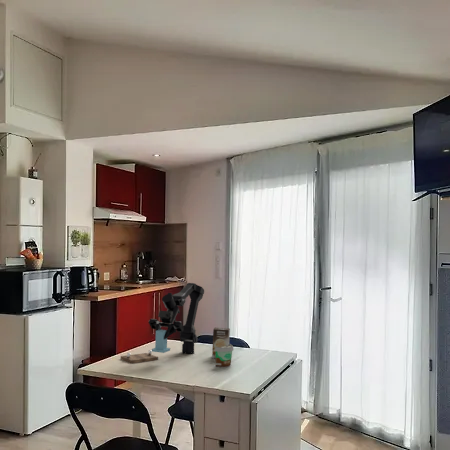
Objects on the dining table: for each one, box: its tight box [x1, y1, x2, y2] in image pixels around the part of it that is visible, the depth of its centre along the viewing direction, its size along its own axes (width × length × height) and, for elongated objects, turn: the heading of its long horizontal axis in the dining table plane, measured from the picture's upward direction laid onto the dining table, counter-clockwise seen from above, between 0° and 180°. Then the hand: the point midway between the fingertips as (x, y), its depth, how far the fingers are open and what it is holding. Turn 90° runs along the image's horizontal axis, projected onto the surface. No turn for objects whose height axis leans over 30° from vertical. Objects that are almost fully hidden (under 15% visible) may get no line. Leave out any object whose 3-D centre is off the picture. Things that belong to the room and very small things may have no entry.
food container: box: [215, 343, 235, 368], centre depth 255 cm, size 12×6×10 cm, turn 143°
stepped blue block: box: [151, 329, 171, 354], centre depth 253 cm, size 7×7×10 cm
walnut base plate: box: [120, 352, 159, 364], centre depth 262 cm, size 16×12×2 cm
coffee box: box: [211, 327, 231, 359], centre depth 274 cm, size 9×6×16 cm
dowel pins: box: [126, 349, 152, 358], centre depth 262 cm, size 15×2×2 cm, turn 130°
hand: (160, 338), depth 252 cm, fingers closed on stepped blue block, 4 cm apart
